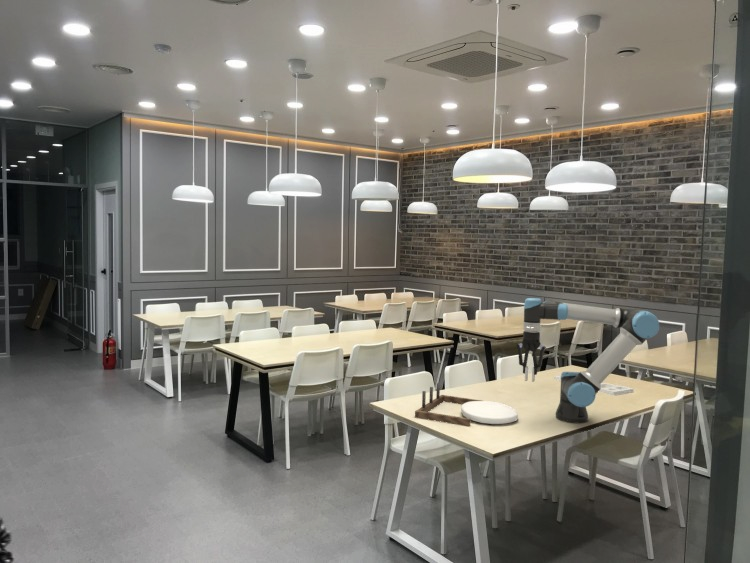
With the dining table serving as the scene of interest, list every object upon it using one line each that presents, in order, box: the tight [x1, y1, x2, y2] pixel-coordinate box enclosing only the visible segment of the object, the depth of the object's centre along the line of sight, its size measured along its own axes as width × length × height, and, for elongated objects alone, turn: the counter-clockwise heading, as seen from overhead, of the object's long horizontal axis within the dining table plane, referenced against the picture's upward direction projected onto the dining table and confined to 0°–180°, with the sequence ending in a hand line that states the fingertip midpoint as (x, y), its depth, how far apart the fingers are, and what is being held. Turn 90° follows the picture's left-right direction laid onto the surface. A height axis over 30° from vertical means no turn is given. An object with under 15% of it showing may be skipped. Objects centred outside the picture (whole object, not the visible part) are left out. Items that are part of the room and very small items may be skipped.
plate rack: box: [414, 382, 483, 427], centre depth 289 cm, size 27×37×11 cm
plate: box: [461, 400, 519, 425], centre depth 282 cm, size 28×6×27 cm
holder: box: [553, 374, 635, 396], centre depth 356 cm, size 45×18×3 cm, turn 30°
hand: (529, 380), depth 272 cm, fingers open, 3 cm apart
